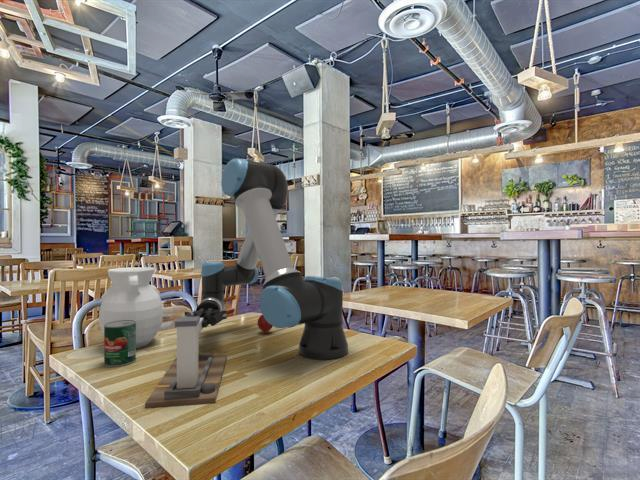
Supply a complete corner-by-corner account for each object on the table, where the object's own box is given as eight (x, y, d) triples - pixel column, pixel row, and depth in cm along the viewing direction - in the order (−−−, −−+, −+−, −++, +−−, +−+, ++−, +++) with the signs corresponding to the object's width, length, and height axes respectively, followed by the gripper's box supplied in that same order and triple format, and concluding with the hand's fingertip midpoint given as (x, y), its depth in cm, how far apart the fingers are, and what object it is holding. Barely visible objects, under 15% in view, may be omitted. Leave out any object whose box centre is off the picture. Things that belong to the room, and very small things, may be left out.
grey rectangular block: (179, 381, 84) (179, 317, 84) (199, 379, 85) (199, 316, 85) (175, 389, 79) (174, 321, 79) (196, 387, 80) (196, 320, 80)
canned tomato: (101, 368, 95) (101, 327, 95) (106, 359, 102) (106, 321, 102) (134, 364, 98) (134, 325, 98) (137, 355, 105) (137, 318, 105)
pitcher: (100, 341, 120) (100, 267, 120) (160, 334, 129) (160, 265, 129) (97, 358, 103) (97, 272, 103) (166, 348, 113) (165, 269, 112)
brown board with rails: (176, 361, 101) (176, 352, 101) (226, 358, 103) (226, 349, 103) (145, 407, 73) (145, 395, 73) (215, 402, 76) (215, 390, 76)
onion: (260, 330, 134) (260, 309, 134) (275, 331, 133) (275, 309, 133) (255, 334, 128) (255, 312, 128) (270, 335, 128) (270, 313, 127)
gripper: (229, 321, 119) (222, 340, 96) (188, 322, 117) (171, 343, 93) (229, 298, 119) (222, 312, 96) (188, 300, 117) (171, 315, 93)
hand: (197, 328), depth 95 cm, fingers closed
